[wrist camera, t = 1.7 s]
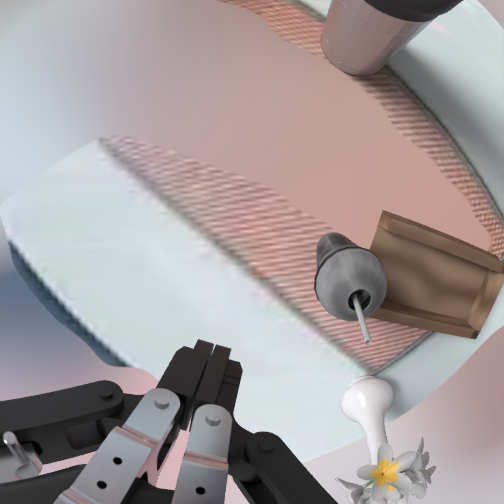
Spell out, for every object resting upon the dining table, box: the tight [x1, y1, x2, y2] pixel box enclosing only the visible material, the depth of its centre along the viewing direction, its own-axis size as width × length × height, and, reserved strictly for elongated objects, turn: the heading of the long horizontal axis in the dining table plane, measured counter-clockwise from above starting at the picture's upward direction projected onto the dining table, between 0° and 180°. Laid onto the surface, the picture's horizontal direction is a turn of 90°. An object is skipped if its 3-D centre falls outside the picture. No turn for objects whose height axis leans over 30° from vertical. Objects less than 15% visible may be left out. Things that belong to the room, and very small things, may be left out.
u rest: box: [368, 210, 504, 339], centre depth 35 cm, size 14×24×4 cm, turn 76°
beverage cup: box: [314, 233, 387, 345], centre depth 28 cm, size 7×7×20 cm
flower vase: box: [335, 375, 436, 504], centre depth 32 cm, size 13×18×25 cm
